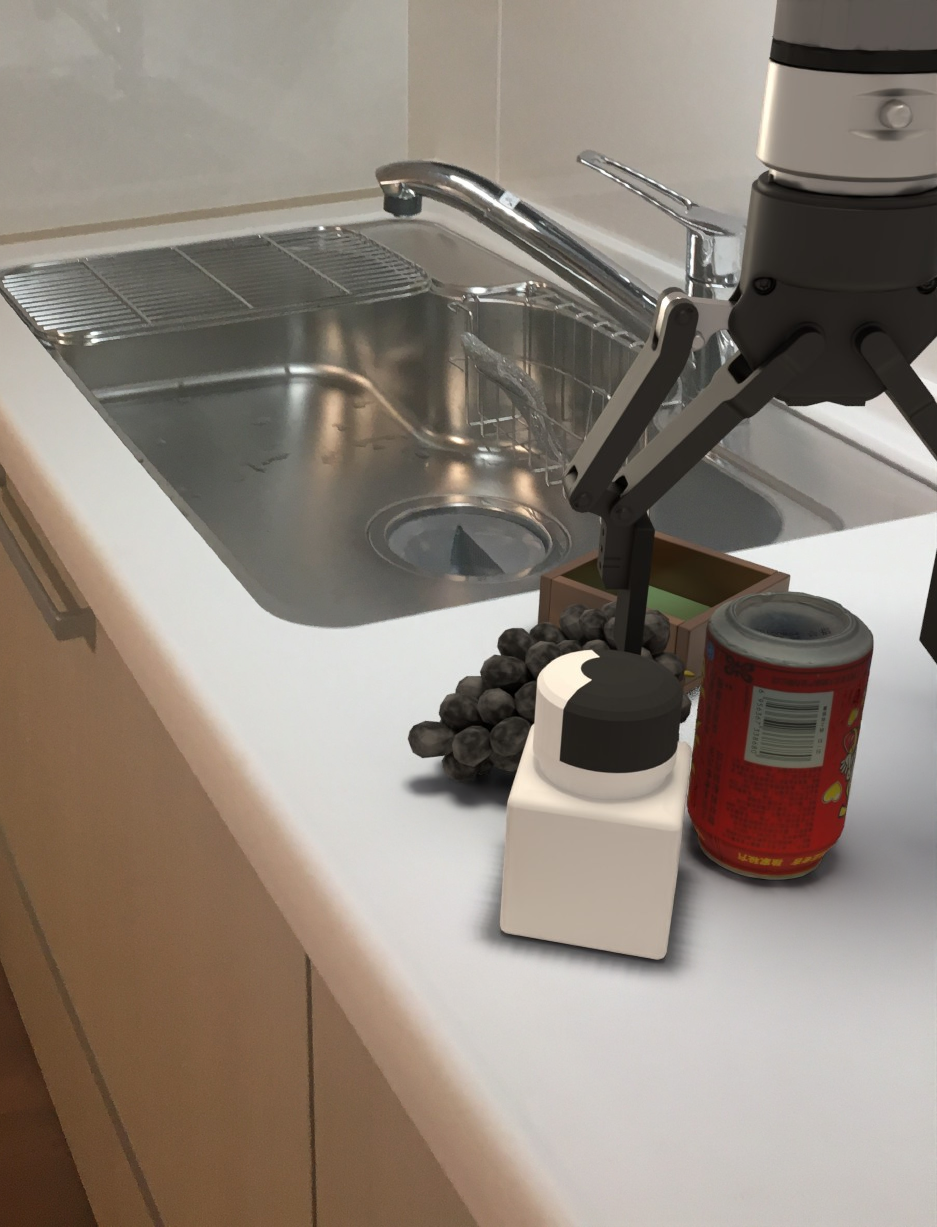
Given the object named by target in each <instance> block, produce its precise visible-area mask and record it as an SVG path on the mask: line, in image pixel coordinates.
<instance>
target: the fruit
mask: <svg viewBox="0 0 937 1227" xmlns="http://www.w3.org/2000/svg"><path fill="white" fill-rule="evenodd" d="M616 602H617V601H614V602H610V603H608V604H605V605H604V606H603V607H602V608H601V610H599V609H598V608H597V609H590V608H588V607H587V606H585V605H583V604H576V605H570V606H569V607H567V608H566V609H565V610H563V611H562V613H561V616H560V618H559V625H560V627H561V629H562V630H561V629H560V628H559V627H558V626H556V625H554V624H552V623H550V622H545V623H538V622H537V624H536V625H534V626H533V627H532V628H531V629H530V630H529V632H528V631H527V630H526V629H525V628H523V627H511V628H507V629H504V631H503V632H502V633H501V634H500V635H499V636H498V638H497V643H496V644H497V645H496V648H497V650H498V652H499V654H493V655H491V656H490V657H489V658H487V659H485V660H484V661H483V663H482V667H481V668H480V670H479V673H480V675H466V676H465V677H463V678H462V679H460V680H459V681H458V683H457V685H456V687H455V691H454V692H453V693H449V694H448V693H447V694H446V695H445V697H444V699H443V700H442V701H441V702H440V705H439V710H438V716H439V718H440V720H439V721H434V720H422V721H421V722H419V723H417V724H414V725H413V726H412V727H411V729H410V730H409V731H408V736H407V741H408V744H409V747H410V749H411V752H412V753H413V754H414V755H416V756H418V757H419V758H421V759H430V758H439V757H442V759H441V765H442V769H443V771H444V773H445V774H446V776H447V778H449V779H450V780H452V781H454V782H459V783H464V784H466V783H468V782H470V781H471V780H473V779H474V778H475V777H476V776H477V775H480V776H481V775H482V776H485V775H486V774H488V773H490V772H491V771H492V770H493V769H494V767H495V768H496V769H498V770H502V771H506V772H514V773H515V774H516V773H517V770H518V766H519V763H520V760H521V757H522V754H523V750H524V747H525V744H526V741H527V738H528V735H529V731H530V728H531V726H532V725H533V724H534V722H535V707H536V692H537V679H538V676H539V674H540V672H541V671H542V670H543V669H544V668H545V667H546V666H547V665H548V664H549V663H551V662H552V661H553V660H555V659H556V658H558V657H561V656H563V655H566V654H569V653H573V652H578V651H585V650H618V649H617V646H616V644H615V641H614V638H613V631H614V622H615V612H616ZM669 638H670V622H669V618H667V617H666V616H665V615H663V614H662V613H661V612H660V611H658V610H648V609H646V616H645V625H644V633H643V642H642V651H641V656H644V657H647V658H649V659H652V660H654V661H656V662H658V663H660V664H662V665H663V666H665V667H666V668H668V669H669V670H670V671H671V672H672V673H673V674H674V675H675V677H676V678H677V679H678V680H679V682H681V681H683V678H684V677H691V678H696V677H695V675H694V674H693V673H691V672H690V671H685V665H684V662H683V661H682V660H681V659H680V658H679V656H677V655H675V654H674V653H670V652H663V651H664V650H665V649H666V647H667V644H668V641H669ZM692 704H693V702H692V701H691V699H690V697H689V695H688V693H685V692H683V702H682V711H681V720H680V724H683V723H685V722H686V721H687V719H688V718H689V717H690V715H691V709H692ZM678 741H680V737H679V738H678Z"/></svg>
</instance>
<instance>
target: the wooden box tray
mask: <svg viewBox="0 0 937 1227" xmlns="http://www.w3.org/2000/svg"><path fill="white" fill-rule="evenodd" d="M598 550H599V547H598V548H595V549H593V550H592V551H591V550H590V551H588V552H587V553H585V554H583V555H581V556H578V557H577V558H574V559H573V560H571V561H570V560H569V561H567V562H566V563H564V564H562V565H560V566H557V567H555V568H554V569H551V570H549V571H547V572H545V573H542V574H541V575H540V581H539V597H538V611H537V624H538V623H545V622H550V623H552V624H554V625H556V626H558V627H559V628H560V629H561V627H560V625H559V618H560V616H561V613H562V611H563V610H565V609H566V608H567V607H569V606H570V605H576V604H583V605H585V606H587V607H588V608H590V609H597V608H598V609H599V610H601V608H602V607H603V606H604V605H605V604H608V603H610V602H614V601H617V593H618V589H605V587H604V584H603V581H602V578H601V576H600V573H599V570H598V567H597V561H598ZM790 584H791V574H789V573H787V572H783V571H780V570H777V569H774V568H772V567H768V566H764V565H762V564H759V563H756V562H752V561H749V560H747V559H743V558H740V557H738V556H734V555H731V554H728V553H725V552H723V551H719V550H715V549H712V548H710V547H706V546H703V545H700V544H697V543H694V542H691V541H688V540H684V539H682V538H680V537H676V536H673V535H670V534H666V533H663V532H661V531H657V530H655V535H654V544H653V553H652V562H651V571H650V580H649V589H648V598H647V607H646V609H648V610H658V611H660V612H661V613H662V614H663V615H665V616H666V617H667V618H669V622H670V638H669V641H668V644H667V647H666V649H665V650H664V651H663V652H670V653H674V654H675V655H677V656H679V658H680V659H681V660H682V661H683V662H684V665H685V671H690V672H691V673H693V674H694V675H695V677H696V678H691V677H684V678H683V681H681V682H680V683H681V685H682V687H683V692H685V693H686V694H688V693H689V692H691V691H694V690H695V689H697V688H698V687H700V683H701V676H702V665H703V656H704V648H705V637H706V628H707V624H708V620H709V618H710V617H711V616H712V614H713V613H714V611H715V610H716V609H718V608H719V607H721V606H722V605H723V604H725V603H727V602H729V601H732V600H735V599H738V598H740V597H742V596H744V595H747V594H754V593H768V592H778V591H790ZM561 630H562V629H561Z"/></svg>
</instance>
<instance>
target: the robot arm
mask: <svg viewBox="0 0 937 1227" xmlns="http://www.w3.org/2000/svg"><path fill="white" fill-rule="evenodd" d="M772 33H773V34H772V39H771V47H770V53H769V57H768V61H767V69H766V75H765V83H764V90H763V98H762V104H761V110H760V111H761V112H760V119H759V126H758V133H757V140H756V148H755V157H756V158H757V159H758V160H759V161H760V162H761V164H763V165H764V167H766V168H768V170H766V171H764V172H762V173H761V174H759V176H758V177H757V179H755V180H754V181H753V182H752V183H751V189H750V195H749V196H750V197H749V204H748V212H747V220H746V228H745V236H744V244H743V250H742V259H741V269H740V275H739V279H738V282H737V285H736V287H735V289H734V290H733V292H732V294H731V295H730V296H729V297H728V299H718V298H717V299H716V298H709V297H708V298H707V297H700V296H699V297H698V296H690V295H688V294H687V292H685V290H683V289H682V288H680V287H678V286H670V287H667V288H665V289H663V290H662V291H661V292H660V293H659V295H658V298H657V300H656V304H655V309H654V313H653V317H652V322H651V328H650V331H649V336H648V339H647V340H646V342H645V343H644V345H643V347H642V348H641V349H640V351H639V352H638V355H636V358H635V360H634V361H633V362H632V364H631V366H630V367H629V369H628V370H627V371H626V374H625V375H624V377H623V378H622V380H621V382H620V383H619V384H618V386H617V388H616V389H615V391H614V393H613V394H612V396H611V398H610V399H609V400H608V402H607V403H606V405H605V407H604V409H603V410H602V412H601V413H600V415H599V417H598V418H597V420H596V421H595V422H594V424H593V426H592V427H591V429H590V430H589V432H588V434H587V436H586V437H585V439H584V440H583V442H582V443H581V445H580V447H579V448H578V450H577V452H576V453H575V455H574V456H573V458H572V459H571V461H570V462H569V464H568V465H567V468H566V469H565V471H564V472H563V474H562V477H561V484H562V487H563V490H564V492H565V496H566V498H567V501H568V503H569V505H570V507H571V509H572V510H574V511H575V512H577V513H580V514H585V513H590V514H594V515H595V516H598V517H600V519H601V521H600V532H599V540H598V548H599V550H598V561H597V567H598V570H599V573H600V576H601V578H602V581H603V584H604V587H605V589H618V593H617V602H616V612H615V622H614V631H613V638H614V641H615V644H616V646H617V649H618V651H624V652H629V653H633V654H637V655H641V651H642V642H643V633H644V625H645V616H646V607H647V598H648V589H649V580H650V571H651V562H652V553H653V544H654V535H655V531H656V528H655V527H654V524H653V522H652V520H651V518H650V516H649V514H648V511H649V510H650V509H651V508H652V507H653V506H654V505H655V504H656V503H657V502H658V501H659V500H660V499H661V498H663V497H664V495H666V494H667V493H668V492H669V491H670V490H671V489H672V488H673V487H674V486H675V485H676V484H677V483H678V482H680V480H681V479H683V477H684V476H685V475H686V474H688V473H689V472H690V471H691V470H692V469H693V468H694V467H695V466H696V465H697V464H698V463H699V462H701V460H702V459H704V458H705V457H706V456H707V455H708V454H709V453H710V452H711V451H712V450H713V449H714V448H715V447H716V446H717V445H718V444H719V443H720V442H721V441H722V440H723V439H725V437H727V435H729V434H730V433H731V432H732V431H733V430H734V429H735V428H736V427H737V426H738V425H739V424H740V423H742V422H743V421H744V420H745V419H751V418H752V417H754V416H755V415H756V414H758V413H759V412H760V411H761V410H762V409H763V408H765V406H766V405H767V404H768V403H770V401H772V400H773V399H775V400H777V401H780V402H784V404H785V405H786V406H787V407H811V406H815V405H818V404H823V403H832V404H836V405H840V406H843V407H866V403H867V402H869V401H872V400H874V399H875V398H877V397H880V396H881V395H882V394H885V395H886V396H887V397H888V398H889V400H890V401H891V403H892V404H893V405H894V406H895V407H896V409H897V410H898V411H899V413H900V414H901V416H902V417H903V419H904V420H905V421H906V423H907V424H908V426H910V428H911V429H912V430H913V432H914V433H915V435H916V436H917V438H918V439H919V441H921V442H922V444H923V445H924V447H926V450H927V451H928V452H929V454H931V456H932V458H933V459H934V460H935V461H936V462H937V401H936V398H935V397H934V395H933V394H932V393H931V391H930V390H929V389H928V387H927V386H926V385H925V383H924V382H923V381H922V379H921V378H920V376H919V375H918V374H917V372H916V371H915V370H914V368H913V367H912V366H911V364H913V362H914V361H915V360H916V359H917V358H918V357H919V356H921V354H923V352H924V351H925V350H926V349H927V348H928V347H929V346H930V345H931V343H933V341H934V340H936V339H937V0H776V5H775V16H774V24H773V31H772ZM719 331H726V333H727V334H728V335H729V337H730V339H731V340H732V342H733V343H734V345H735V346H736V348H737V350H736V351H735V352H734V353H733V354H732V355H731V356H730V357H729V358H728V359H727V360H726V361H725V362H724V363H723V364H722V365H721V366H720V367H718V369H717V370H716V371H715V372H714V374H713V376H712V378H711V380H710V382H709V383H708V385H707V386H706V387H705V388H703V389H702V390H701V392H699V393H698V394H697V395H696V396H695V397H694V398H693V399H692V400H691V401H690V402H689V403H687V405H686V406H685V407H684V408H683V409H682V410H681V411H679V412H678V414H677V415H676V416H674V417H673V419H672V420H671V421H670V422H669V423H668V424H667V425H666V426H665V427H664V428H662V430H660V431H659V432H658V433H657V434H656V435H655V436H654V437H653V438H652V439H651V440H650V441H649V442H648V443H647V444H646V445H645V446H644V447H643V448H642V449H641V450H640V451H638V452H637V453H636V455H634V457H632V458H631V459H630V460H629V461H628V462H627V463H626V465H624V463H625V462H626V460H627V458H628V457H629V455H630V454H631V452H632V451H633V449H634V447H636V445H637V443H638V442H639V440H640V438H641V437H642V435H643V434H644V432H645V431H646V429H647V427H648V426H649V424H650V423H651V422H652V420H653V418H654V417H655V415H656V414H657V412H658V411H659V409H660V407H662V404H663V403H664V401H665V400H666V398H667V397H668V395H669V394H670V392H671V390H672V389H673V387H674V385H675V384H676V383H677V381H678V379H679V378H680V376H681V375H682V372H683V371H684V369H685V367H686V365H687V362H688V360H689V358H690V354H691V353H692V352H693V353H694V352H699V351H701V350H702V349H704V348H705V347H706V345H707V344H708V342H709V340H710V339H711V337H712V336H713V335H714V334H716V333H717V332H719ZM623 465H624V466H623ZM622 466H623V467H622ZM926 596H927V597H926V602H925V606H924V613H923V618H922V623H921V627H920V633H919V637H918V640H919V642H920V643H921V645H922V646H923V648H924V649H925V651H926V652H927V653H928V655H929V656H930V657H931V659H932V660H933V661H934V664H936V665H937V549H936V551H935V556H934V560H933V565H932V571H931V575H930V582H929V586H928V592H927V595H926Z"/></svg>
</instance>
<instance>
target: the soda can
mask: <svg viewBox="0 0 937 1227" xmlns="http://www.w3.org/2000/svg"><path fill="white" fill-rule="evenodd" d="M874 646H875V641H874V635H873V633H872V630H871V629H870V628H869V626H868V625H866V623H864V621H863V620H862V619H861V618H860V617H859V616H857V615H856V614H854V613H852V612H851V611H850V610H849V609H848V608H846V607H844V606H843V604H841V603H839V602H837V601H835V600H832V599H830V598H826V597H822V596H820V595H814V594H812V593H811V594H810V593H806V592H802V591H801V592H800V591H790V590H789V591H778V592H768V593H754V594H747V595H744V596H742V597H740V598H738V599H735V600H732V601H729V602H727V603H725V604H723V605H722V606H721V607H719V608H718V609H716V610H715V611H714V613H713V614H712V616H711V617H710V618H709V620H708V624H707V628H706V637H705V648H704V656H703V665H702V676H701V683H700V686H699V695H698V701H697V708H696V716H695V718H696V719H695V727H694V737H693V743H692V745H693V746H692V754H691V762H690V771H689V779H688V788H687V797H686V808H687V813H688V816H689V818H690V821H691V823H692V825H693V828H694V830H695V832H696V833H697V844H698V845H699V847H700V849H701V851H702V853H703V854H704V855H705V856H706V857H707V858H709V859H710V860H711V861H712V862H713V863H715V864H717V865H718V866H720V867H722V868H724V869H726V870H728V871H730V872H732V873H735V874H738V875H741V876H744V877H748V878H754V879H755V878H756V879H764V880H770V881H771V880H774V881H775V880H790V879H796V878H800V877H803V876H805V875H807V874H809V873H811V872H812V871H814V870H816V869H817V868H818V867H819V865H820V864H821V862H822V860H823V858H824V855H825V854H826V853H827V852H828V851H829V850H831V849H832V847H834V846H835V845H836V844H837V842H838V841H839V839H840V837H841V836H842V833H843V831H844V828H845V823H846V817H847V811H848V807H849V806H848V805H849V800H850V793H851V788H852V780H853V776H854V768H855V763H856V758H857V751H858V744H859V739H860V733H861V728H862V721H863V717H864V716H863V715H864V709H865V704H866V698H867V692H868V685H869V681H870V680H869V679H870V674H871V666H872V661H873V656H874V649H875V648H874Z"/></svg>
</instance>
